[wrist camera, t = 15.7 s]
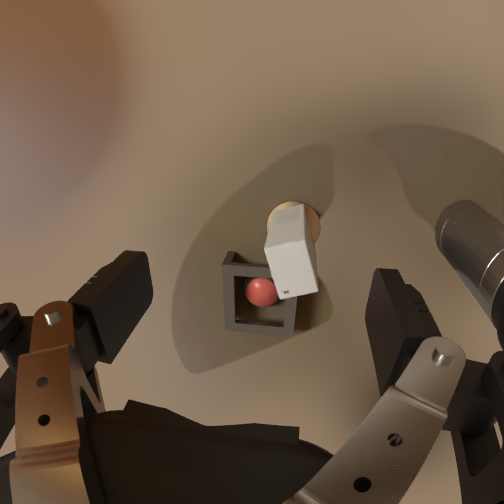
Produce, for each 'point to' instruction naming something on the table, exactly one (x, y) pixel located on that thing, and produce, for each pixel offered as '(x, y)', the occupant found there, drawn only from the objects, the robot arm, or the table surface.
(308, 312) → the table surface
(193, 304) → the table surface
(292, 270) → the skincare box
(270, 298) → the button
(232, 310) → the grey square frame
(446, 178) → the table surface
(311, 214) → the coaster
